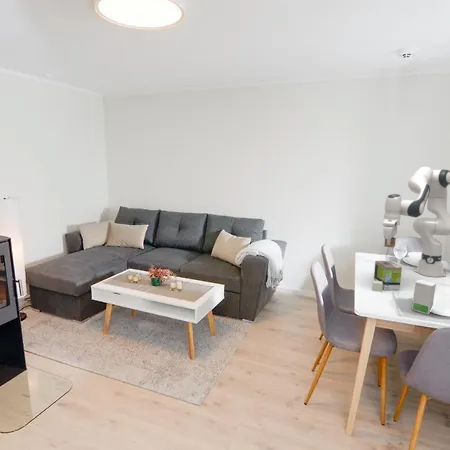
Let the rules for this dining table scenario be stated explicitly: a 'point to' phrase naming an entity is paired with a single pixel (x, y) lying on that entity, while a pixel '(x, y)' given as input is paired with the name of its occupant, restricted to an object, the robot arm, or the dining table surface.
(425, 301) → the skincare box
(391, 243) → the walnut block
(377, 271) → the tea box
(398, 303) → the dining table surface
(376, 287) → the sage block
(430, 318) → the dining table surface
